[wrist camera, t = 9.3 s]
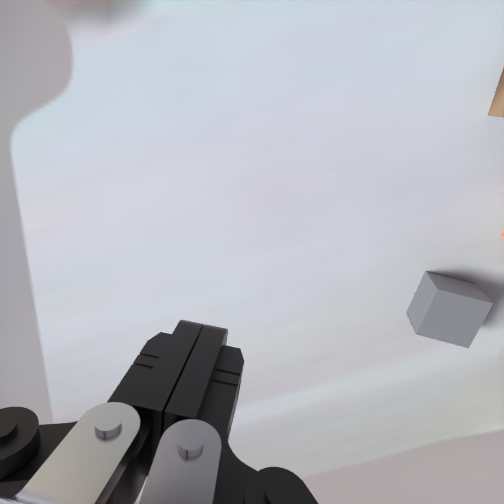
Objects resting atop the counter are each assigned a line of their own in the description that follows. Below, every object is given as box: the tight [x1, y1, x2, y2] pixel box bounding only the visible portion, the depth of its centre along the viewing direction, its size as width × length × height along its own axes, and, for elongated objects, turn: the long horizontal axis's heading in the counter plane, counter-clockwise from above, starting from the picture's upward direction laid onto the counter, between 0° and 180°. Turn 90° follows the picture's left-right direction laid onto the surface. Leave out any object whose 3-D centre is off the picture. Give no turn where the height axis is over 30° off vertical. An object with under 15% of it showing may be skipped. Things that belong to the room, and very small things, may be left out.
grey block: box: [407, 271, 493, 348], centre depth 36 cm, size 5×5×4 cm
